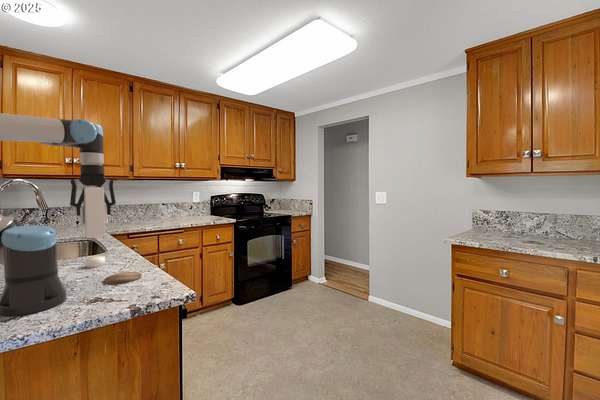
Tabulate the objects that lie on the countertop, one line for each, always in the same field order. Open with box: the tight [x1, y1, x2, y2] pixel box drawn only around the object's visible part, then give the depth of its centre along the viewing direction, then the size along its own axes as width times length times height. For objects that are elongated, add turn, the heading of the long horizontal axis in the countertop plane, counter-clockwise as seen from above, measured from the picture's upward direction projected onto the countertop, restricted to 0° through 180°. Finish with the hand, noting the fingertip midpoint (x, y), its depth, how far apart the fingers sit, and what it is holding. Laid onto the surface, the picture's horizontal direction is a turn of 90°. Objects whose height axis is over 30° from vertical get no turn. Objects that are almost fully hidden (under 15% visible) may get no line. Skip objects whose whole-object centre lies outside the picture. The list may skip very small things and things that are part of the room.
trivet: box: [104, 271, 142, 285], centre depth 110 cm, size 12×12×1 cm
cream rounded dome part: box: [85, 255, 106, 269], centre depth 128 cm, size 7×7×4 cm
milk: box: [82, 184, 107, 239], centre depth 112 cm, size 6×6×22 cm
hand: (94, 223), depth 113 cm, fingers closed on milk, 7 cm apart
